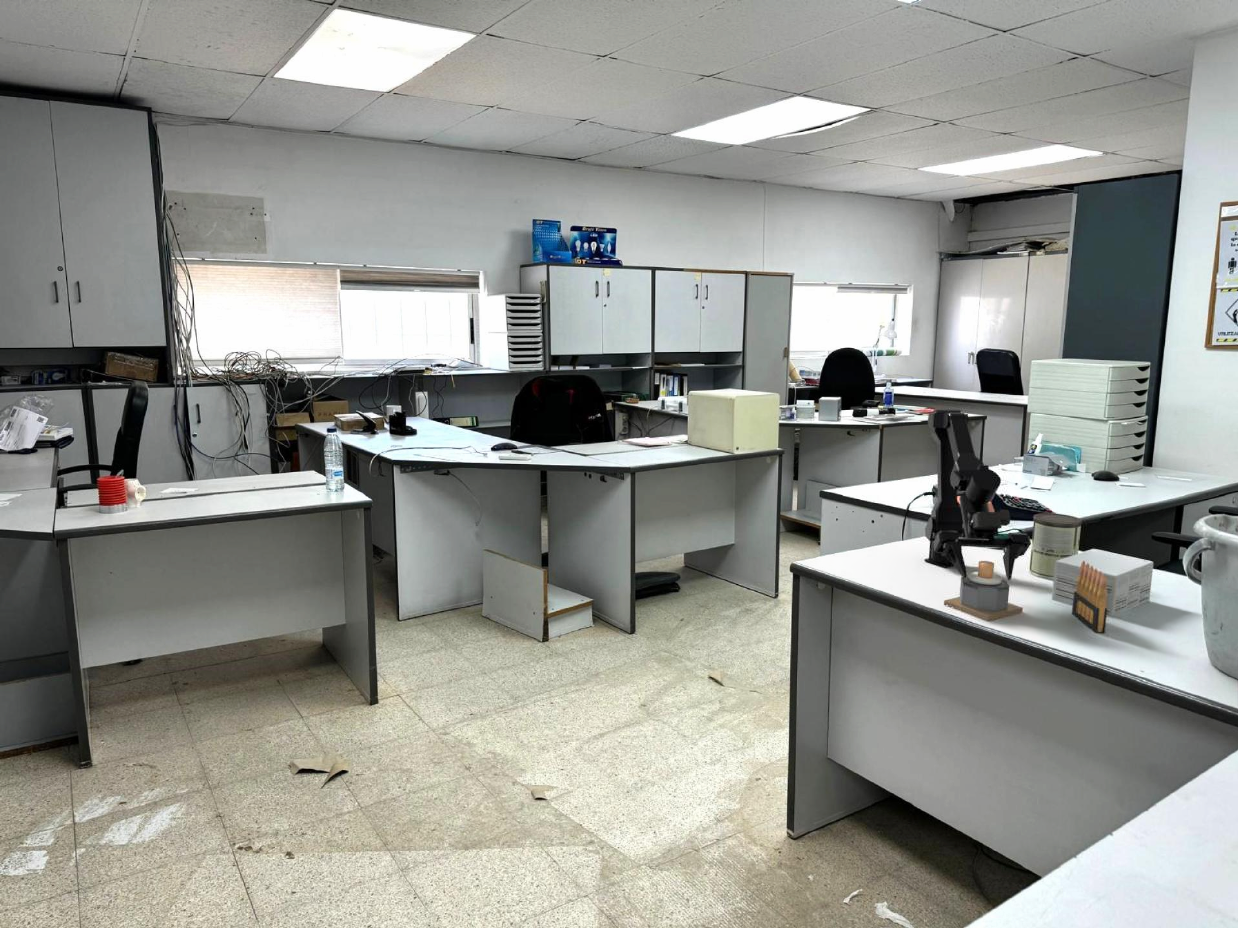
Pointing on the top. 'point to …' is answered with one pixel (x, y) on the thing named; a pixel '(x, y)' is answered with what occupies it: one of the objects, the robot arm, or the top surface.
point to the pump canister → (984, 600)
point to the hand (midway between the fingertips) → (987, 578)
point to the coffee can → (1053, 542)
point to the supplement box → (1122, 575)
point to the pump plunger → (985, 574)
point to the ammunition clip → (1091, 598)
